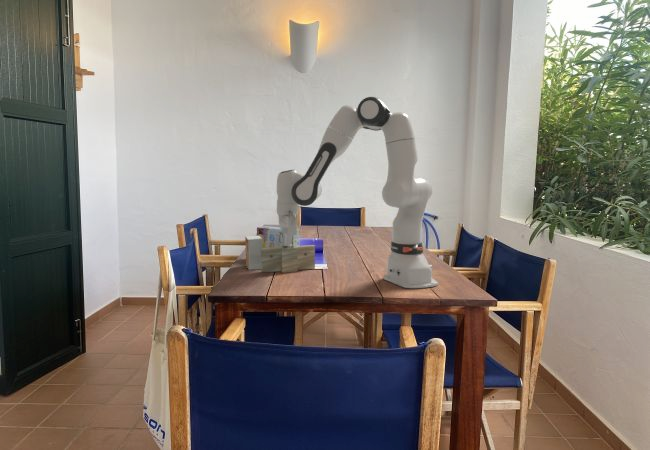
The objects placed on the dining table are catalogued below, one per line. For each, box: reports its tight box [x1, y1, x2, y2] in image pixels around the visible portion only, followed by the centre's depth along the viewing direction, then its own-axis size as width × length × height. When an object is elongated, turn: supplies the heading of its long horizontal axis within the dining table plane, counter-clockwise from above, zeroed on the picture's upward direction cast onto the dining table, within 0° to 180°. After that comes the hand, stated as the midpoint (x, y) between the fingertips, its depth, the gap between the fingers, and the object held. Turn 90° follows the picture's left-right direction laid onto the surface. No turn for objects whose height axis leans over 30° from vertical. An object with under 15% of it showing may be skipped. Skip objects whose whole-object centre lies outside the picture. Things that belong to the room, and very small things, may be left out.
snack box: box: [256, 225, 301, 248], centre depth 217 cm, size 21×6×15 cm, turn 56°
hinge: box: [260, 244, 316, 274], centre depth 199 cm, size 6×22×10 cm, turn 106°
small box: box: [244, 235, 263, 271], centre depth 204 cm, size 8×6×13 cm
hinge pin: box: [285, 233, 292, 248], centre depth 198 cm, size 3×3×13 cm
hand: (288, 243), depth 198 cm, fingers closed on hinge pin, 3 cm apart
